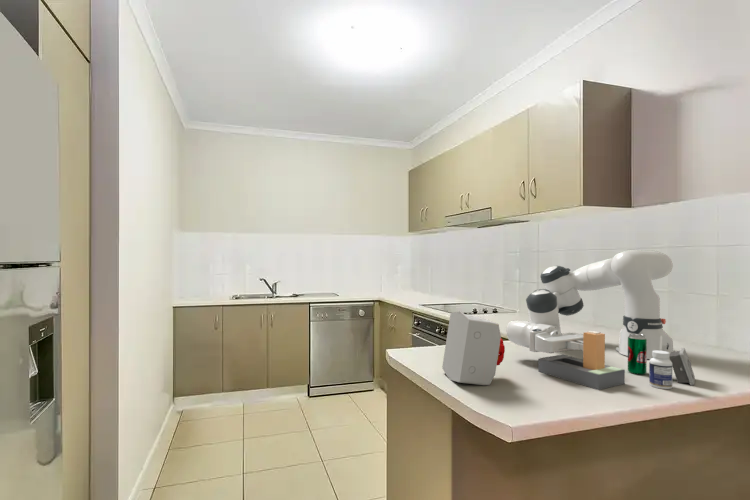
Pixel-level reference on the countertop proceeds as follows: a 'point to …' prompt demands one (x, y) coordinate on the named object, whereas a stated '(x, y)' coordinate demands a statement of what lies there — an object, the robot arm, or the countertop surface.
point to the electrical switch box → (472, 349)
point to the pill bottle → (660, 370)
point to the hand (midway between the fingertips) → (587, 347)
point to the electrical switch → (682, 367)
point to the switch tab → (593, 350)
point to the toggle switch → (581, 372)
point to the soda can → (637, 354)
